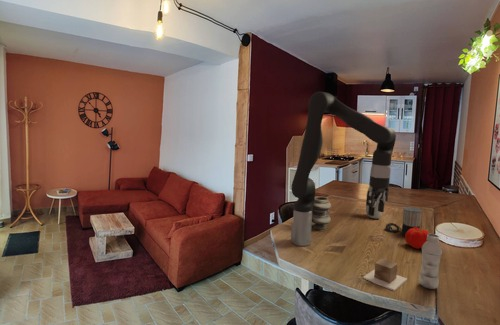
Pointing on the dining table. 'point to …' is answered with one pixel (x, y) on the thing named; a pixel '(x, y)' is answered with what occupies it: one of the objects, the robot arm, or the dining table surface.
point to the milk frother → (407, 220)
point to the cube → (385, 270)
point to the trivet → (392, 286)
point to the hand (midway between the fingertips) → (375, 213)
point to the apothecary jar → (320, 213)
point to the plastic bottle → (430, 262)
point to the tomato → (416, 237)
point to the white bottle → (376, 213)
